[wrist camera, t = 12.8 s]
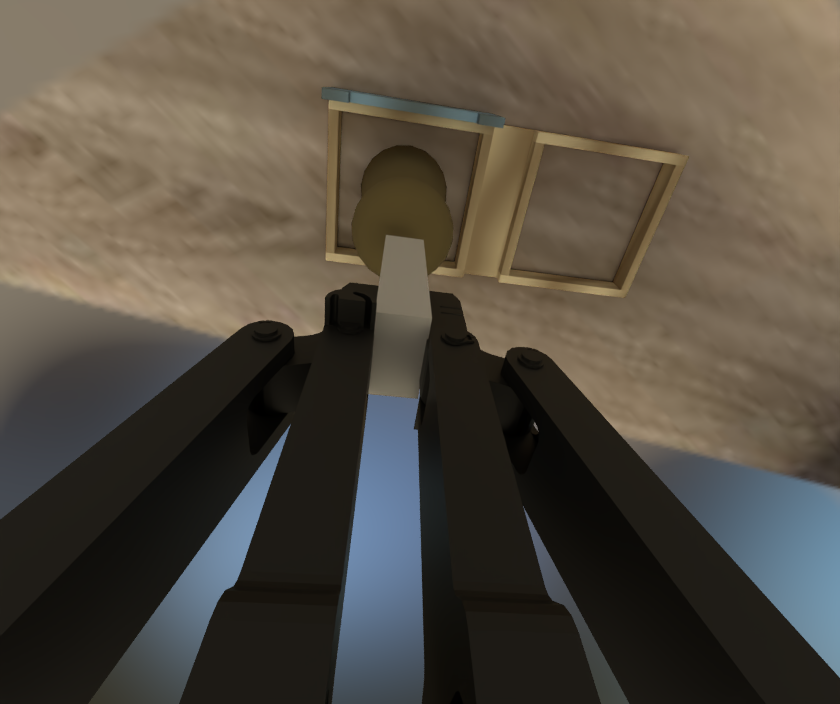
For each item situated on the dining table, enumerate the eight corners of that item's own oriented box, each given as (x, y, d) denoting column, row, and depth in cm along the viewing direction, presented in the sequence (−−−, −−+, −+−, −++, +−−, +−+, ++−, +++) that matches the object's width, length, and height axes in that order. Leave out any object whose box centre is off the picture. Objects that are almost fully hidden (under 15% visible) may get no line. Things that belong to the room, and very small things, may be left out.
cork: (352, 152, 27) (324, 185, 18) (442, 138, 27) (460, 165, 18) (370, 240, 31) (354, 306, 21) (450, 229, 30) (469, 291, 21)
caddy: (680, 145, 28) (723, 154, 24) (616, 290, 33) (643, 315, 30) (332, 87, 25) (319, 87, 22) (329, 253, 31) (318, 276, 27)
